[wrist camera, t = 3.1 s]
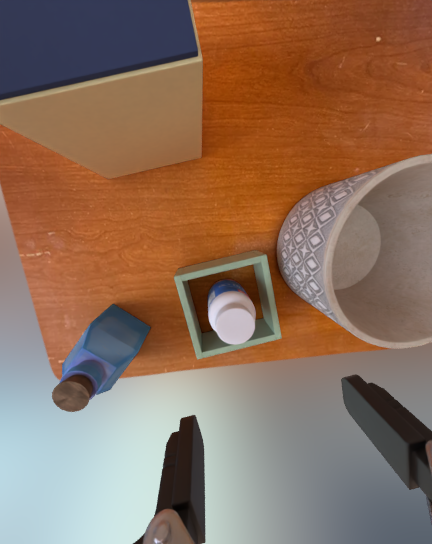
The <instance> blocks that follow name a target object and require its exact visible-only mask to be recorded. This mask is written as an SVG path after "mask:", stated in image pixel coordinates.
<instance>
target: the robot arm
mask: <svg viewBox="0 0 432 544" xmlns="http://www.w3.org/2000/svg"><path fill="white" fill-rule="evenodd" d="M341 381H342V390H343V399H344V404H345V406H346V409H347V410H348V412H349V414H350V415H351V416H352V418H353V419H354V420H355V421H356V423H357V424H358V425H359V426H360V427H361V429H362V430H363V431H364V433H365V434H366V435H367V437H368V438H369V439H370V440H371V441H372V443H373V444H374V445H375V447H376V448H377V449H378V451H379V452H380V453H381V454H382V455H383V457H384V458H385V459H386V461H387V462H388V463H389V464H390V466H391V467H392V468H393V469H394V471H395V472H396V473H397V474H398V476H399V477H400V478H401V480H402V481H403V482H404V483H405V485H406V486H407V487H408V488H409V490H411V489H415V488H419V487H420V488H421V490H422V491H423V492H424V493H425V494H426V499H427V505H428V509H429V513H430V519H431V523H432V431H431V430H430V429H428V428H427V427H426V426H425V425H424V424H423V423H422V422H420V421H419V420H418V419H417V418H416V417H415V416H414V415H413V414H412V413H411V412H409V411H408V410H407V409H406V408H405V407H403V406H402V405H401V404H400V403H399V402H398V401H397V400H395V399H394V397H392V396H391V395H390V394H389V393H388V392H387V391H386V390H385V389H383V388H381V387H379V386H377V385H375V384H373V383H368V384H367V383H366V382H365V381H364V380H363V379H362V378H361V377H360V376H358V375H352V376H348V377H344V378H342V379H341ZM204 478H205V477H204V445H203V439H202V435H201V432H200V429H199V425H198V422H197V419H196V416H195V415H192V416H189V417H184V418H181V420H180V427H179V431H178V432H174V433H172V434H171V436H170V438H169V440H168V442H167V444H166V451H165V458H164V463H163V469H162V476H161V482H160V489H159V494H158V502H157V507H156V512H155V515H154V518H153V519H152V520H151V522H150V524H149V525H148V527H147V529H146V532H145V533H144V535H143V536H142V537H141V538H140V539H139V540H137V541H136V542H135V543H133V544H202V543H205V480H204Z"/></svg>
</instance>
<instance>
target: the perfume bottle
mask: <svg viewBox="0 0 432 544" xmlns="http://www.w3.org/2000/svg"><path fill="white" fill-rule="evenodd" d="M150 328H151V327H150V326H148V325H147V324H145V323H143V322H142V321H140V320H139V319H137V318H135V317H134V316H132V315H131V314H129V313H127V312H126V311H124V310H123V309H121V308H119V307H118V306H116V305H115V304H112V305H111V306H110V307H109V308H108V309H106V310H105V311H104V312H103V313H102V314H101V315H100V316H98V317H97V318H96V319H95V320H94V321H93V322H92V323H91V324H90V325H89V326H88V328H87V329H86V331H85V332H84V334H83V335H82V337H81V338H80V339H79V341H78V342H77V344H76V345H75V347H74V348H73V350H72V351H71V352H70V354H69V355H68V357H67V358H66V360H65V361H64V363H63V364H62V378H61V381H60V384H58V385H57V386H56V387H55V388H54V390H53V392H52V398H53V401H54V403H55V404H56V405H57V406H58V407H59V408H60V409H62V410H65V411H69V412H75V411H79V410H81V409H83V408H84V407H85V406H87V404H88V402H89V400H90V399H92V398H93V397H94V396H95V394H96V395H98V394H100V393H103V392H106V391H108V390H110V389H111V388H112V386H113V385H114V384H115V383H116V381H117V380H118V378H119V377H120V376H121V374H122V373H123V372H124V370H125V369H126V368H127V366H128V365H129V364H130V362H131V361H132V360H133V358H134V357H135V356H136V354H137V353H138V352H139V350H140V348H141V346H142V344H143V342H144V340H145V338H146V336H147V334H148V332H149V330H150Z"/></svg>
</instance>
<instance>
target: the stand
mask: <svg viewBox="0 0 432 544" xmlns="http://www.w3.org/2000/svg"><path fill="white" fill-rule="evenodd" d="M188 3H189V8H190V13H191V18H192V23H193V28H194V32H195V37H196V42H197V47H198V56H197V57H192V58H188V59H183V60H179V61H174V62H170V63H165V64H161V65H156V66H152V67H147V68H143V69H138V70H134V71H129V72H125V73H120V74H116V75H111V76H107V77H102V78H98V79H93V80H89V81H84V82H80V83H75V84H71V85H66V86H62V87H57V88H53V89H48V90H44V91H39V92H35V93H30V94H26V95H21V96H17V97H12V98H8V99H3V100H0V124H1V125H3V126H5V127H7V128H9V129H11V130H13V131H15V132H17V133H19V134H21V135H23V136H25V137H26V138H28V139H30V140H32V141H34V142H36V143H38V144H40V145H42V146H44V147H46V148H48V149H50V150H52V151H54V152H56V153H58V154H60V155H62V156H64V157H66V158H68V159H69V160H71V161H73V162H75V163H77V164H79V165H81V166H83V167H85V168H87V169H89V170H91V171H93V172H95V173H97V174H99V175H101V176H103V177H105V178H107V179H111V178H116V177H120V176H124V175H129V174H133V173H137V172H142V171H146V170H150V169H155V168H159V167H163V166H168V165H172V164H176V163H181V162H185V161H189V160H194V159H198V158H202V89H203V58H202V53H201V49H200V44H199V39H198V34H197V29H196V24H195V19H194V14H193V9H192V5H191V0H188Z"/></svg>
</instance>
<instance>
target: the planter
mask: <svg viewBox="0 0 432 544" xmlns="http://www.w3.org/2000/svg"><path fill="white" fill-rule="evenodd" d="M277 261H278V266H279V270H280V272H281V275H282V277H283V279H284V280H285V282H286V284H287V285H288V286H289V287H290V289H291V290H292V291H293V292H294V293H296V294H297V295H298V296H299V297H301V298H302V299H304V300H305V301H307V302H308V303H309V304H311V305H312V306H314V307H315V308H317V309H318V310H319V311H321V312H322V313H324V314H325V315H326V316H328V317H329V318H331V319H332V320H334V321H335V322H336V323H338V324H339V325H341V326H342V327H343V328H345V329H346V330H348V331H349V332H351V333H352V334H353V335H355V336H356V337H358V338H360V339H362V340H364V341H366V342H368V343H371V344H374V345H377V346H380V347H387V348H410V347H416V346H421V345H424V344H427V343H430V342H432V154H429V155H420V156H416V157H413V158H409V159H406V160H403V161H400V162H397V163H394V164H391V165H387V166H384V167H381V168H378V169H375V170H372V171H369V172H366V173H363V174H360V175H357V176H354V177H351V178H348V179H345V180H342V181H339V182H336V183H333V184H330V185H327V186H324V187H321V188H319V189H317V190H315V191H312V192H311V193H309V194H308V195H306V196H305V197H304V198H302V199H301V200H300V201H299V202H298V203H297V204H296V205H295V206H294V207H293V209H292V210H291V211H290V212H289V214H288V216H287V217H286V219H285V221H284V223H283V225H282V228H281V230H280V233H279V237H278V242H277Z"/></svg>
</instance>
